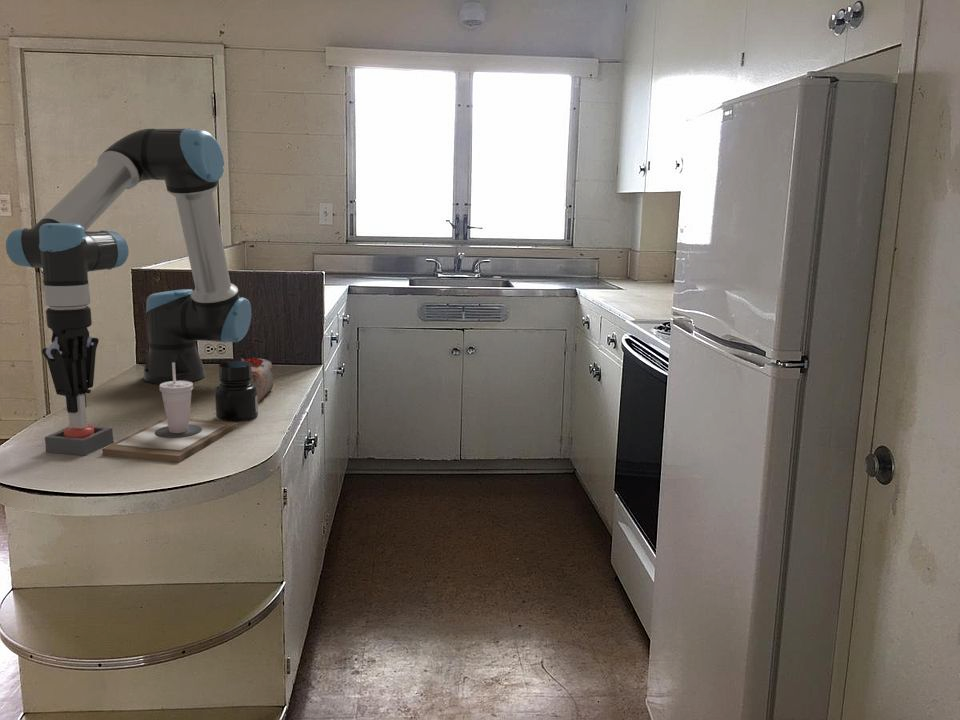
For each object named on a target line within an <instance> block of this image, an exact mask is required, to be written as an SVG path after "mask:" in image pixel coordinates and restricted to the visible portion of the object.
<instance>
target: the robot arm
mask: <svg viewBox="0 0 960 720" xmlns="http://www.w3.org/2000/svg"><path fill="white" fill-rule="evenodd" d="M97 158H98V159H97V164H96V166H95V167H94V168H92V170H90V172H88V173H87V174H86V175H85V176H84V178H82V179H81V180H80V181H79V182H78V183H77V184H76V185H75V186H74V187H73V188H72V189H71V190H70V191H69V192H68V193H67V194H66V195H65V196H64V197H63V198H62V199H60V200H59V202H58V203H56V204H55V205H54V206H53V207H52V208H51V209H50V210H49V211H48V212H47V213H46V214H45V215H44V216H43V217H41V219H40V220H39V221H38V222H37V223H36V224H34V225H33V227H32V228H31V227H30V228H26V227H25V228H18V229H13V230H12V231H11V232H10V233H9V234H8V235H7V238H6V241H5V251H6V254H7V256H8V258H9V259H10V261H11V262H12V264H15V265H16V266H20V267H27V268H33V269H37V268H38V269H39V268H42V278H43V279H42V282H43V289H44V291H43V292H44V300H45V303H44V304H45V306H47V307H48V308H46V310H45V315H46V317H45V318H46V326H47V328H48V329H50V330H51V331H52V334H51V337H50V338H51V344H50V346H49V347H44V348H42V351H41V352H42V355H43V356H44V358H45V359H46V361H47V365H48V368H49V369H48V370H49V372H50V375H51V379H52V382H53V386H54V390H55V393H56V395H57V396H58V395H59V396H64V397H65V401H66V403H65V405H66V411H67V413H68V422H69V423H68V424H69V426H70V428H78V429H83V428H85V427H87V424H88V417H87V395H86V394H91V392H92V388H93V387H94V379H95V369H96V368H95V366H96V365H95V364H96V356H97V355H96V354H97V348H98V345H99V342H100V341H99V340H100V339H99V338H98V337H92V336H91V335H90V331H89V329H88V328H89V327H91V326H92V325H93V321H92V311H91V309H92V308H90V306H89V305H90V304H91V294H90V283H89V278H88V277H89V276H88V275H89V273H88V272H97V271H103V270H107V271H109V270H112V269H115V268H119V267H122V265H124V264H125V263H126V262H127V260H128V258H129V253H130V252H129V251H130V250H129V245H128V242H127V241H126V239H125V238H124V236H123V235H121V234H120V233H119V232H117V231H113V230H99V231H88V229H90V227H91V226H92V225H93V224H94V223H95V222H96V221H97V220H98V219H99V218H100V217H101V216H102V215H103V214H104V213H105V212H106V210H107V209H109V208H110V206H111V205H113V203H114V202H115V201H116V200H117V199H118V198H119V197H120V196H121V195H122V194H123V192H125V191H126V190H131V189H134V188H136V186H137V185H138V184H139V183H141V182H144V181H150V180H151V181H152V180H155V181H164V182H165V187H166V192H168V193H169V194H170V195H172V196H173V197H175V200H176V206H177V210H178V215H179V220H180V224H181V229H182V233H183V237H184V243H185V246H186V250H187V255H188V260H189V264H190V269H191V275H192V279H193V283H194V290H193V289H192V288H191V289H189V288H187V289H185V288H183V289H175V290H167V291H166V290H165V291H161V292H155V293H151V294H150V295H148V296H147V298H146V307H145V308H146V310H145V313H146V320H147V321H146V322H147V324H146V325H147V332H148V333H147V334H148V335H147V336H148V337H147V338H148V349H149V350H148V354H147V357H146V361H145V365H144V369H143V380H144V381H145V382H147V383H151V384H159V385H160V384H162V383H165V382H169V381H173V372H172V363H175V373H176V381H189V382H195V381H199V380H202V379H203V378H205V376H206V371H205V366H204V364H203V361H202V358H201V356H200V354H199V351H198V349H197V342H199V341H201V342H202V341H203V342H215V343H223V344H225V343H238V342H240V341H241V340H243V339H244V338H245V337H246V335H247V333H248V331H249V328H250V325H251V321H252V305H251V302H250V301H249V299H247V298H245V297H243V296H242V297H240V293H239V288H238V286H237V285H235V284H234V283H231V280H230V279H231V278H230V273H229V268H228V263H227V262H228V261H227V257H226V253H225V248H224V242H223V238H222V233H221V227H220V222H219V216H218V212H217V207H216V202H215V196H214V191H215V190H216V189H217V188H218V185H219V183H218V181H219V180H220V179H221V178H222V176H223V174H224V172H225V171H224V170H225V169H224V166H225V161H224V160H225V158H224V155H223V150H222V148H221V146H220V143H219V142H218V141H217V138H216V137H214V136H213V135H212V134H211V133H210V132H208V131H206V130H202V129H193V128H145V129H144V128H143V129H140V130H136V131H134V132H131V133H129V134H128V135H127V134H126V136H123V137H121V138H120V139H118V140H117V141H115V142H114V143H113V144H111V145H109V147H107V149H105V150H104V151H103V152H102V153H101V154H100V155H99V156H98V157H97ZM90 388H91V389H90Z"/></svg>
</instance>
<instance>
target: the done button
mask: <svg viewBox="0 0 960 720" xmlns="http://www.w3.org/2000/svg"><path fill="white" fill-rule="evenodd" d="M94 426H95V425H93V424H88V423H87V427H85V428H83V429H78V428H70V425H69V426H66V427H65V428H63V429H64V437H72V438H85V437H87V436H90V435H92V434H94Z"/></svg>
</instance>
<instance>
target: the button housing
mask: <svg viewBox="0 0 960 720" xmlns="http://www.w3.org/2000/svg"><path fill="white" fill-rule="evenodd" d="M93 426H94V434H92V435H90V436H87V437H85V438H72V437H64V429H65V428H63V429H60V430H58V431H56V432H53V433H51V434H48V435H46V436H44V443H45V452H46V453H52V454H53V453H54V454H65V455H74V456H87V455H89V454H90V455H91V454H92V453H94V452H96V451H98V450H100V449H103V448H105V447H107V446H109V445H111V444H113V443H114V433H113V427H107V426H97V425H96V426H95V425H93Z"/></svg>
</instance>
